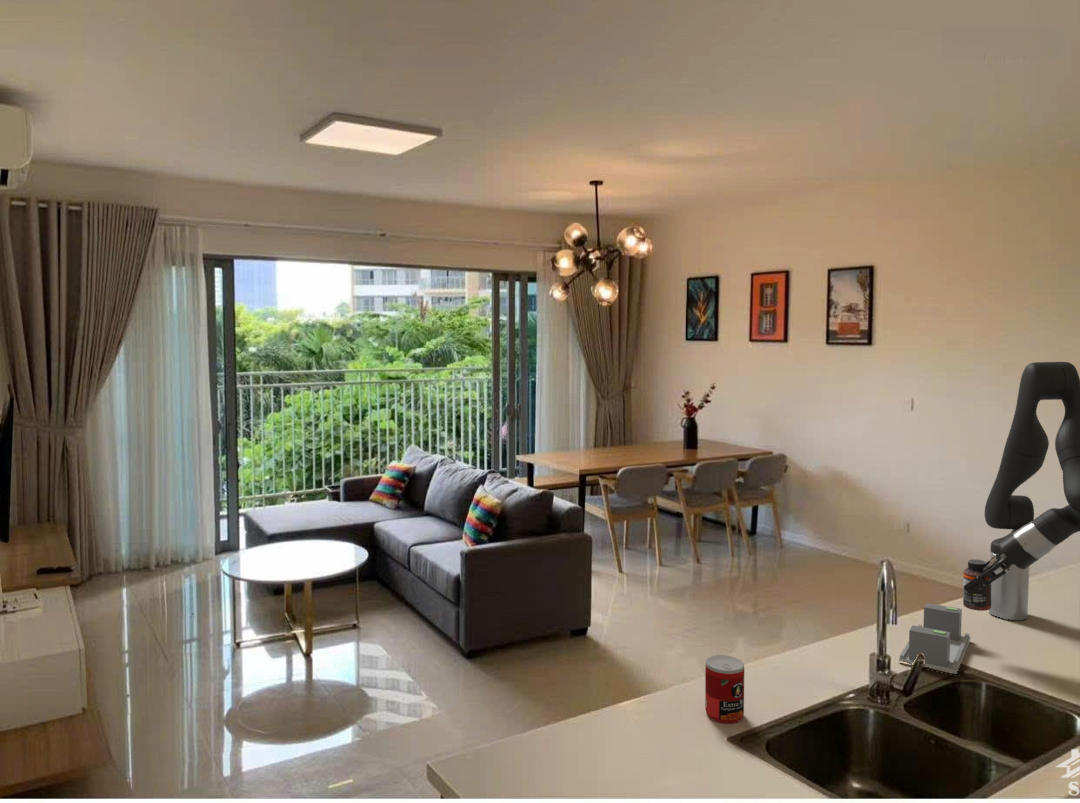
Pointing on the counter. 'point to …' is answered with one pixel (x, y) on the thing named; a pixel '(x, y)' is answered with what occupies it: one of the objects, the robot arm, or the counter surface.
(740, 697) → the canned food
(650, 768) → the counter surface
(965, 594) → the supplement bottle
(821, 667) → the counter surface
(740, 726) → the counter surface
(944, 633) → the board
